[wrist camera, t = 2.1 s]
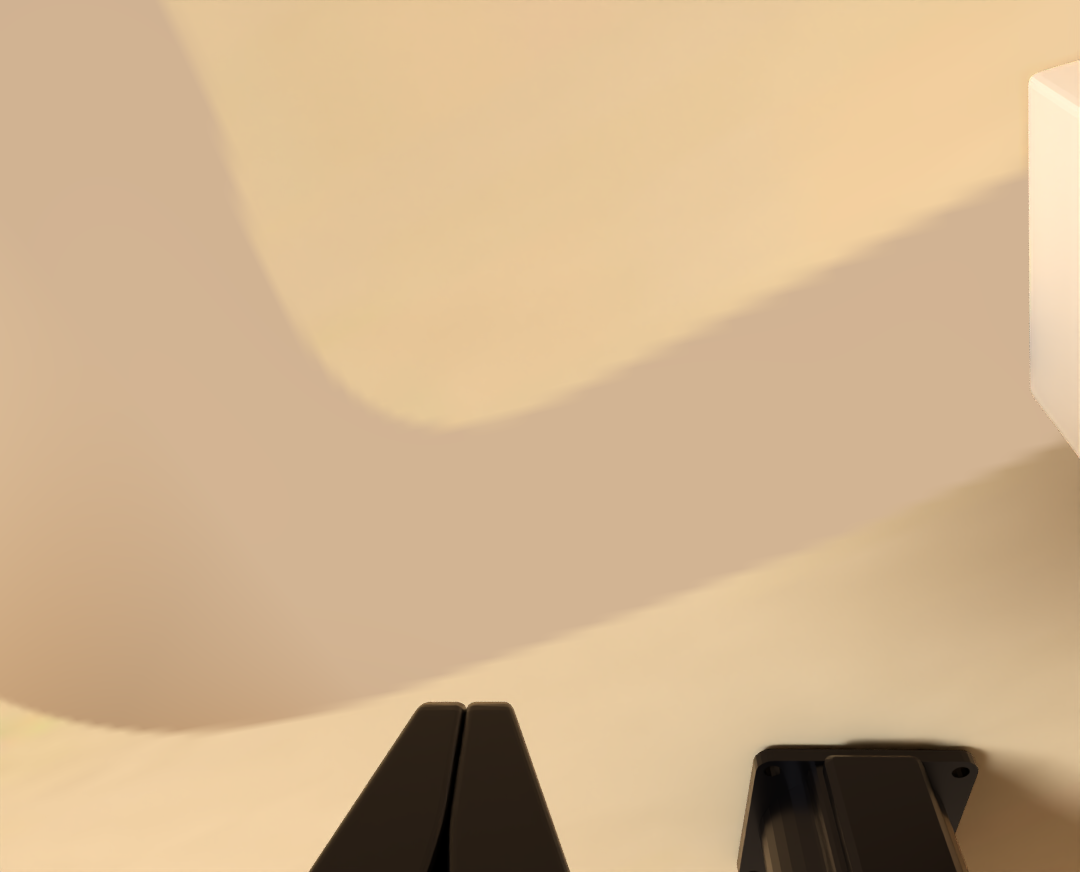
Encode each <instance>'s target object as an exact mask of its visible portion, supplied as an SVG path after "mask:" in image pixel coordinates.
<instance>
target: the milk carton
mask: <svg viewBox="0 0 1080 872" xmlns="http://www.w3.org/2000/svg"><path fill="white" fill-rule="evenodd" d="M1028 112H1029V303H1030V304H1029V312H1030V314H1029V316H1030V317H1029V319H1030V391H1031V393H1032V395H1033V397H1034V399H1035V400H1036V401H1037V403H1038V404H1039V405H1040V407H1041V408H1042V409H1043V411H1044V412H1045V413H1046V415H1047V416H1048V417H1049V419H1050V420H1051V421H1052V423H1053V424H1054V425H1055V427H1056V428H1057V429H1058V431H1059V432H1060V433H1061V435H1062V436H1063V437H1064V439H1065V440H1066V441H1067V443H1068V444H1069V445H1070V447H1071V448H1072V449H1073V451H1074V452H1075V453H1076V455H1077V456H1078V457H1079V459H1080V60H1077V61H1074V62H1070V63H1066V64H1063V65H1059V66H1056V67H1053V68H1049V69H1046V70H1043V71H1040V72H1038V73H1036V74H1033V76H1032V77H1031V78H1030V80H1029V84H1028Z"/></svg>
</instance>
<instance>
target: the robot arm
mask: <svg viewBox="0 0 1080 872" xmlns="http://www.w3.org/2000/svg"><path fill="white" fill-rule="evenodd" d="M977 774H978V767H977V764H976V762H975V759H974V757H973V756H972V754H971V753H969V752H967V751H961V750H816V749H770V750H764V751H762V752H760V753H758V754H757V755H756V756H755V758H754V761H753V767H752V773H751V779H750V785H749V792H748V798H747V804H746V810H745V816H744V822H743V829H742V835H741V841H740V847H739V853H738V859H737V868H738V872H968V869H967V867H966V864H965V861H964V858H963V856H962V853H961V850H960V847H959V845H958V842H957V839H956V836H955V832H956V829H957V827H958V824H959V822H960V819H961V816H962V814H963V811H964V808H965V806H966V803H967V800H968V798H969V795H970V793H971V790H972V787H973V785H974V782H975V779H976V777H977ZM309 872H570V870H569V867H568V865H567V862H566V859H565V856H564V853H563V850H562V847H561V844H560V842H559V839H558V836H557V833H556V830H555V827H554V824H553V821H552V818H551V816H550V813H549V810H548V807H547V804H546V801H545V798H544V795H543V793H542V790H541V787H540V784H539V781H538V778H537V775H536V772H535V769H534V767H533V764H532V761H531V758H530V755H529V752H528V749H527V746H526V744H525V741H524V738H523V735H522V732H521V729H520V726H519V723H518V720H517V718H516V715H515V712H514V709H513V707H512V706H511V705H510V704H509V703H507V702H474V703H471V704H469V705H468V707H467V709H466V707H465V705H464V704H462V703H459V702H427V703H424V704H422V705H421V706H420V707H419V708H418V709H417V710H416V711H415V713H414V714H413V716H412V717H411V719H410V720H409V722H408V723H407V725H406V726H405V728H404V729H403V731H402V732H401V734H400V735H399V737H398V738H397V740H396V741H395V743H394V744H393V746H392V747H391V749H390V750H389V752H388V753H387V755H386V756H385V758H384V759H383V761H382V762H381V764H380V765H379V767H378V768H377V770H376V771H375V773H374V774H373V776H372V777H371V779H370V780H369V782H368V784H367V785H366V787H365V788H364V790H363V791H362V793H361V794H360V796H359V797H358V799H357V800H356V802H355V803H354V805H353V806H352V808H351V809H350V811H349V812H348V814H347V815H346V817H345V818H344V820H343V821H342V823H341V824H340V826H339V827H338V829H337V830H336V832H335V833H334V835H333V836H332V838H331V839H330V841H329V842H328V844H327V845H326V847H325V848H324V850H323V851H322V853H321V854H320V856H319V857H318V859H317V860H316V862H315V863H314V865H313V866H312V868H311V869H310V871H309Z"/></svg>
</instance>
